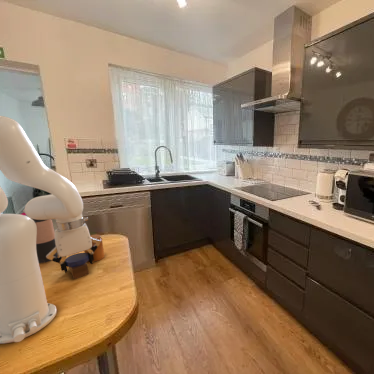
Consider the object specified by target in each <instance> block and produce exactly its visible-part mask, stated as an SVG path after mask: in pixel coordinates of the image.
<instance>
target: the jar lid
mask: <svg viewBox="0 0 374 374" xmlns="http://www.w3.org/2000/svg"><path fill="white" fill-rule="evenodd" d="M88 260H89V255H88V253H85V252H79V253H75V254H72V255H69V256H66V259H65V262H66V266H67V268H69V267H76V266H80V265H82V264H84V263H86V264H87V263H88V262H87V261H88Z"/></svg>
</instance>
